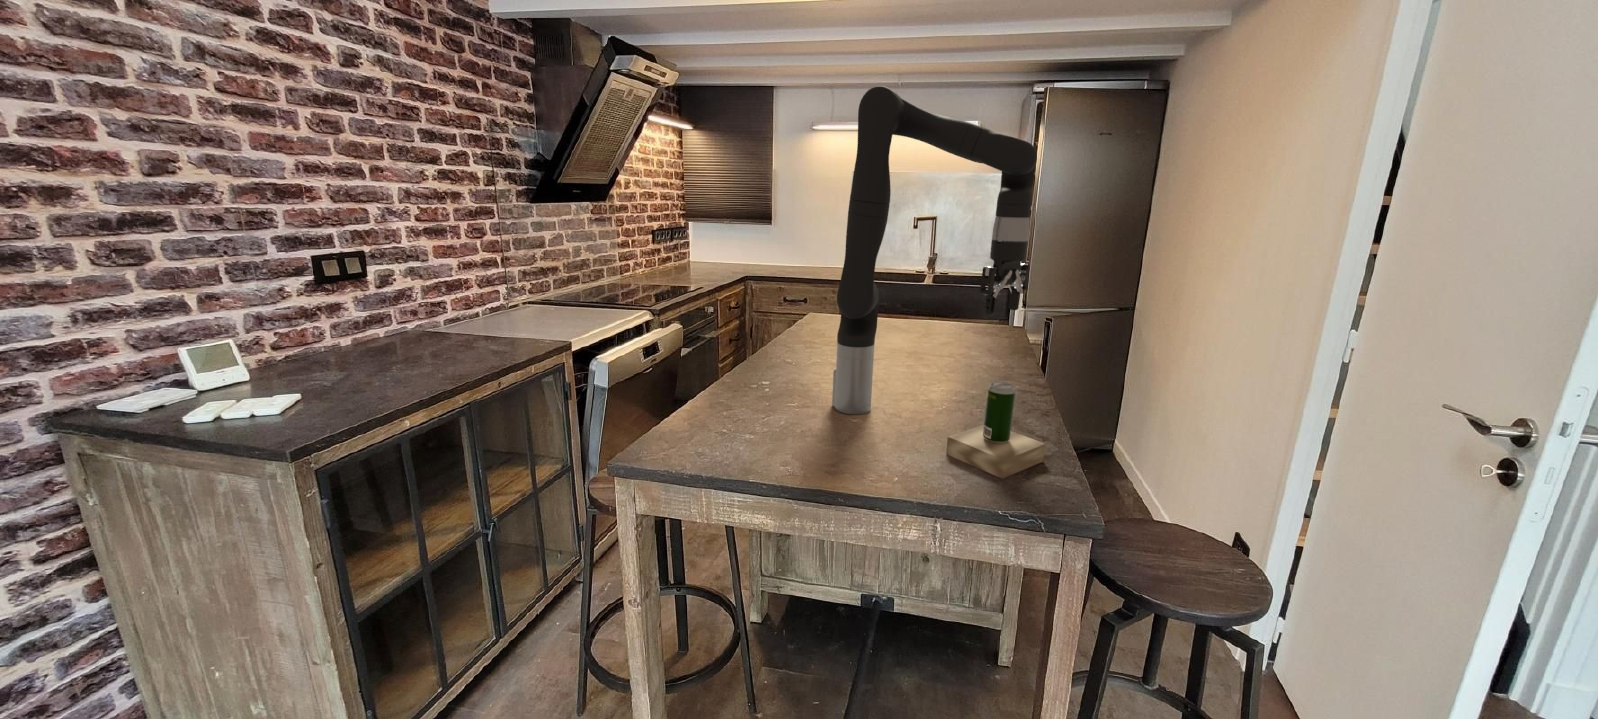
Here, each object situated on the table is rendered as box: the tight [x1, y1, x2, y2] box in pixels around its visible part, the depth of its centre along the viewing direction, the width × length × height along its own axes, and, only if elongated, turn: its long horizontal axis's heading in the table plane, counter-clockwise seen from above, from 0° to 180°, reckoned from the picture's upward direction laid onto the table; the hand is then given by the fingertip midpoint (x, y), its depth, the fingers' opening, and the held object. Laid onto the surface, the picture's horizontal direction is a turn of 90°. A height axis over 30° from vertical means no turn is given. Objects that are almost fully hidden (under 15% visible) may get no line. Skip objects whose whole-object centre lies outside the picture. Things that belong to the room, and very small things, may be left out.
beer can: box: [983, 381, 1016, 445], centre depth 127 cm, size 5×5×12 cm
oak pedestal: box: [945, 424, 1046, 479], centre depth 129 cm, size 14×14×4 cm
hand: (1001, 311), depth 138 cm, fingers open, 8 cm apart
